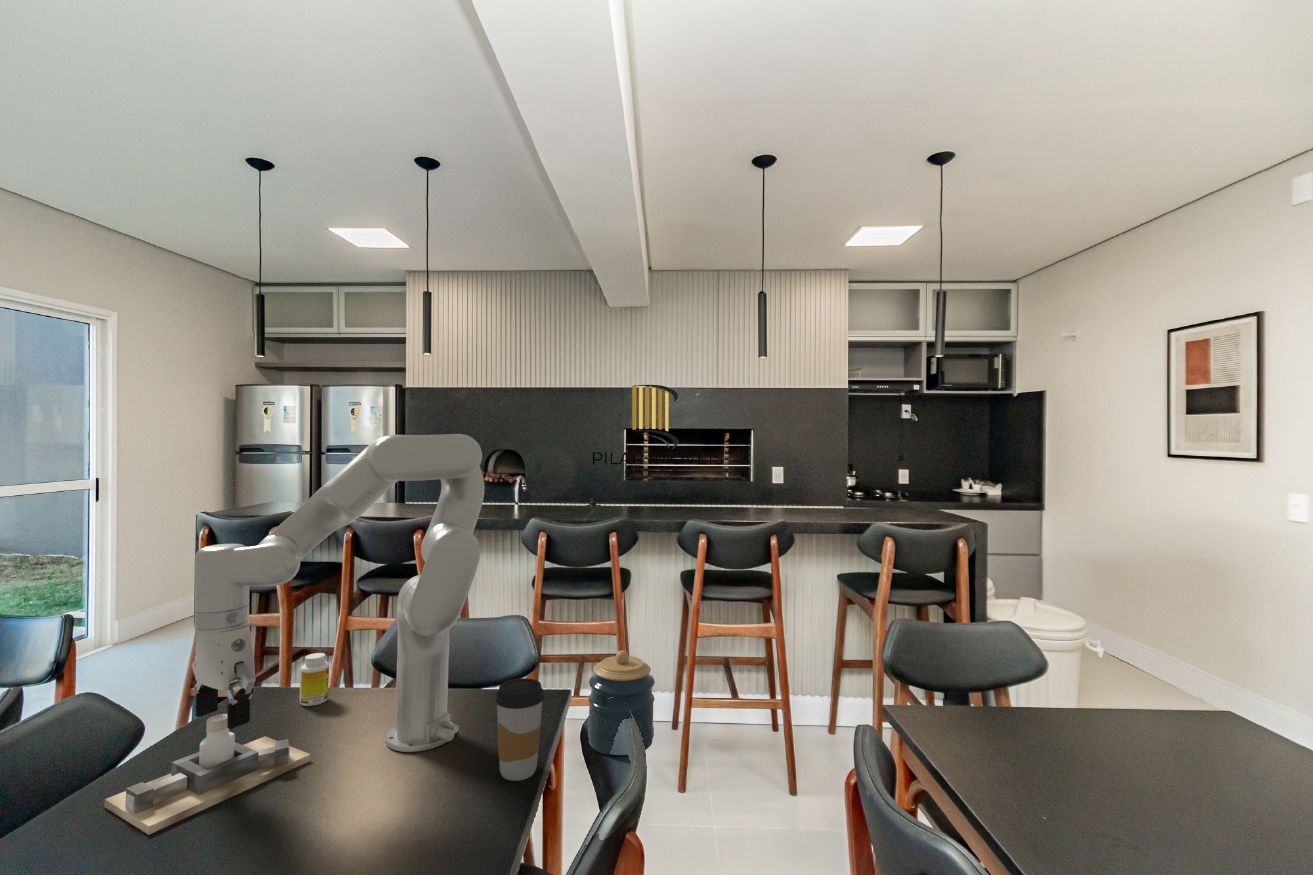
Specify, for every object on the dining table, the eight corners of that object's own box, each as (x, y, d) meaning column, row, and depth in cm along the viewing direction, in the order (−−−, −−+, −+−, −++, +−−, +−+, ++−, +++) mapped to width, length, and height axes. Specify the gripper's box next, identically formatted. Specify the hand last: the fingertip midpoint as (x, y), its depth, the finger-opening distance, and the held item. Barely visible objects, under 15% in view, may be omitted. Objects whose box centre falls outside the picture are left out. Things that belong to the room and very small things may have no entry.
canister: (612, 721, 126) (614, 636, 126) (665, 736, 119) (667, 647, 120) (573, 746, 115) (575, 653, 115) (630, 765, 108) (631, 666, 109)
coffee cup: (551, 771, 105) (553, 685, 106) (511, 790, 99) (513, 699, 100) (524, 754, 111) (526, 673, 112) (484, 771, 105) (486, 685, 105)
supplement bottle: (330, 702, 133) (331, 656, 133) (301, 709, 129) (303, 661, 129) (325, 694, 137) (326, 649, 137) (297, 700, 133) (298, 654, 134)
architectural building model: (265, 742, 114) (265, 720, 114) (310, 760, 108) (311, 737, 108) (104, 807, 93) (105, 779, 93) (148, 834, 86) (149, 805, 86)
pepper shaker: (224, 779, 99) (226, 721, 99) (196, 782, 98) (198, 723, 98) (235, 767, 103) (237, 711, 103) (208, 769, 102) (210, 713, 102)
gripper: (275, 618, 101) (275, 720, 100) (219, 606, 108) (219, 701, 108) (226, 631, 94) (226, 740, 94) (170, 617, 102) (170, 718, 102)
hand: (222, 719), depth 101 cm, fingers open, 9 cm apart
